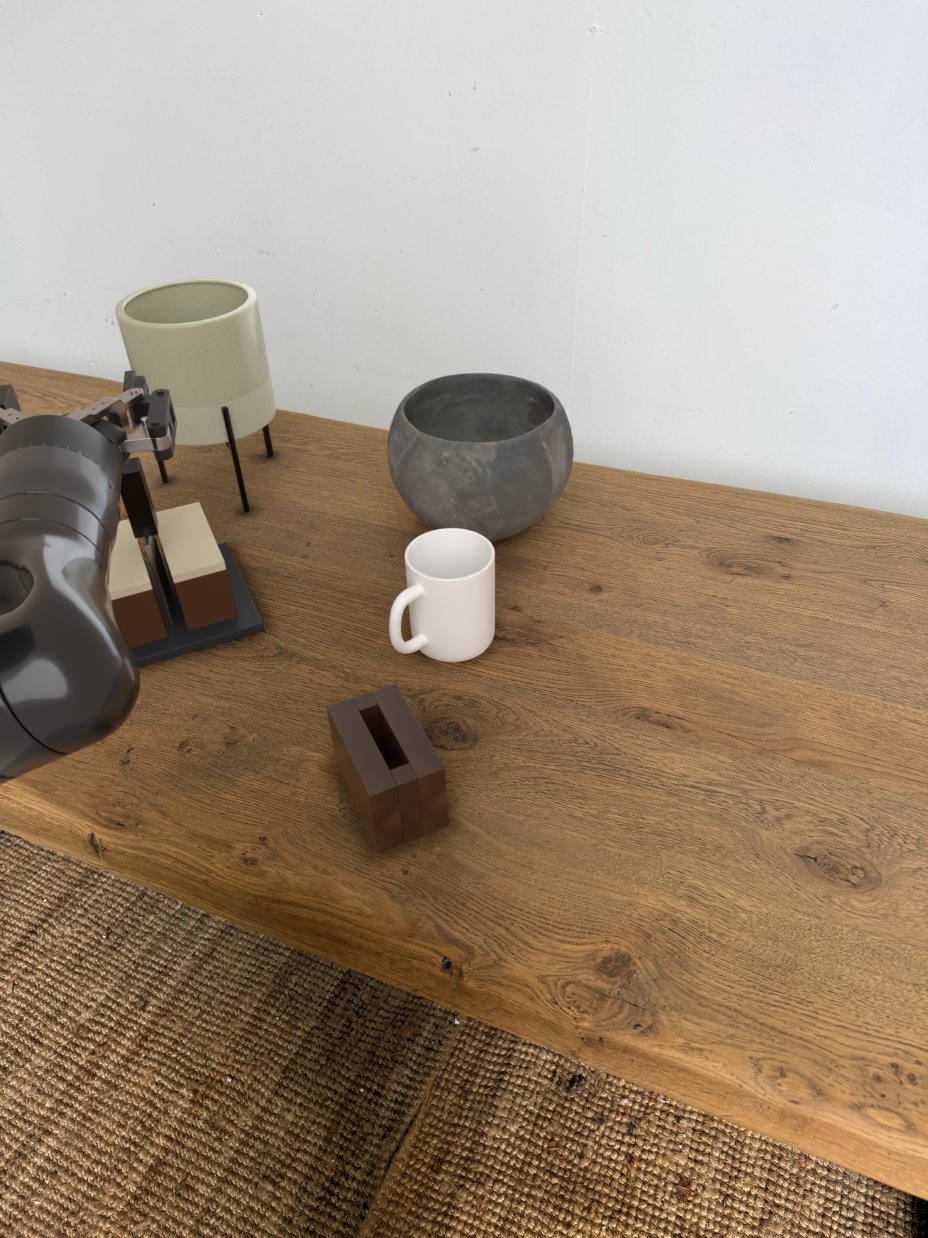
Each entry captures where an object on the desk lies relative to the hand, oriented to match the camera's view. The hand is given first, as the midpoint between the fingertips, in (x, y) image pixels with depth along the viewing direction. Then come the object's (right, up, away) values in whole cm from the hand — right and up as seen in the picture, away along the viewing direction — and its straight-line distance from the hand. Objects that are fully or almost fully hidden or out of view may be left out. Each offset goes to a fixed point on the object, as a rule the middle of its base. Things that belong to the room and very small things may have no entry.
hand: (72, 389), depth 63 cm
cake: (-2, -16, +27) cm, 31 cm away
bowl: (+31, -6, +38) cm, 49 cm away
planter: (-2, 0, +47) cm, 47 cm away
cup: (+26, -20, +22) cm, 39 cm away
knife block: (+23, -31, +7) cm, 39 cm away
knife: (-2, -15, +26) cm, 30 cm away
